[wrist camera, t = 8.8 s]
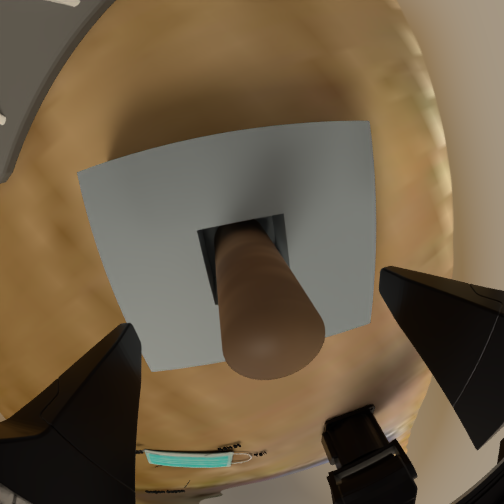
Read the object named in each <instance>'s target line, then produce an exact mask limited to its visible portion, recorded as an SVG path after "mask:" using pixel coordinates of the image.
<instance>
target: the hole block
mask: <svg viewBox="0 0 504 504" xmlns="http://www.w3.org/2000/svg"><path fill="white" fill-rule="evenodd" d="M77 175H78V179H79V184H80V188H81V192H82V196H83V200H84V204H85V208H86V212H87V215H88V219H89V222H90V226H91V229H92V233H93V236H94V239H95V242H96V245H97V248H98V251H99V254H100V257H101V260H102V263H103V266H104V268H105V271H106V274H107V276H108V279H109V282H110V284H111V287H112V289H113V292H114V294H115V297H116V299H117V301H118V304H119V306H120V308H121V311H122V313H123V315H124V317H125V320H126V322H127V323H131V324H132V325H133V326H134V328H135V331H136V333H137V335H138V337H139V339H140V341H141V346H142V355H143V357H144V358H145V360H146V362H147V364H148V366H149V368H150V370H151V371H152V372H155V371H164V370H172V369H180V368H187V367H194V366H200V365H206V364H212V363H218V362H224V361H225V358H224V356H223V351H222V341H221V330H220V319H219V307H218V294H217V280H216V265H215V249H214V237H215V233H216V231H217V229H218V227H219V226H220V225H225V224H230V223H235V222H240V221H246V220H251V219H255V220H256V221H258V222H259V223H260V224H261V226H262V227H263V229H264V230H265V232H266V233H267V235H268V236H269V238H270V239H271V241H272V242H273V244H274V245H275V247H276V248H277V250H278V251H279V253H280V254H281V256H282V257H283V259H284V260H285V262H286V263H287V265H288V266H289V268H290V269H291V271H292V273H293V274H294V276H295V277H296V279H297V280H298V282H299V283H300V285H301V286H302V288H303V289H304V291H305V293H306V294H307V296H308V297H309V299H310V300H311V302H312V304H313V305H314V307H315V308H316V310H317V311H318V313H319V314H320V316H321V318H322V320H323V322H324V325H325V337H329V336H332V335H335V334H339V333H342V332H345V331H348V330H351V329H354V328H357V327H360V326H363V325H366V324H369V323H370V321H371V312H372V302H373V290H374V275H375V255H376V195H375V175H374V160H373V149H372V139H371V130H370V122H369V121H329V122H311V123H297V124H286V125H276V126H267V127H259V128H252V129H245V130H238V131H232V132H226V133H220V134H214V135H209V136H204V137H199V138H194V139H189V140H185V141H180V142H176V143H172V144H168V145H164V146H160V147H156V148H152V149H148V150H144V151H141V152H137V153H134V154H130V155H127V156H124V157H121V158H117V159H114V160H111V161H108V162H105V163H102V164H99V165H96V166H93V167H90V168H88V169H85V170H82V171H80V172H77Z"/></svg>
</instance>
